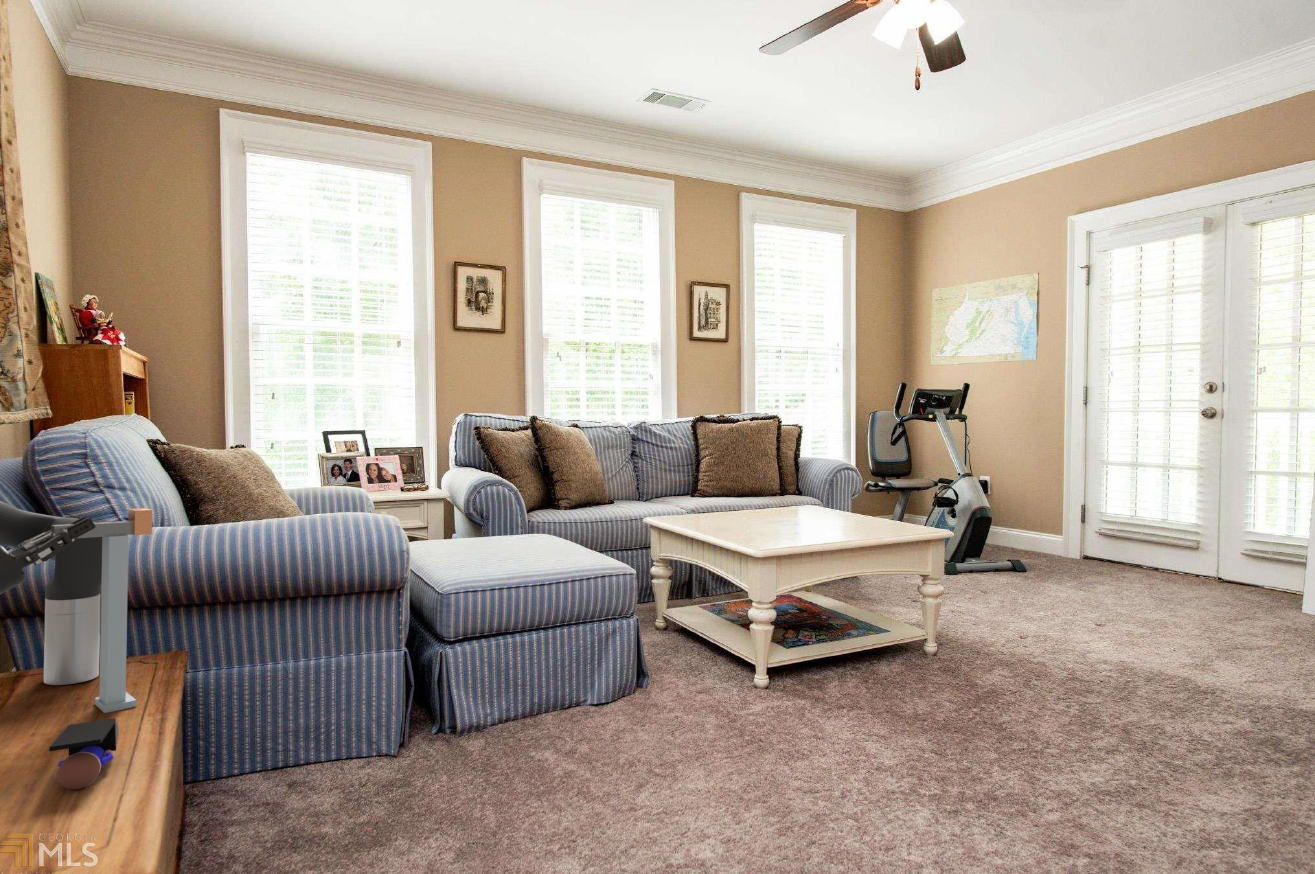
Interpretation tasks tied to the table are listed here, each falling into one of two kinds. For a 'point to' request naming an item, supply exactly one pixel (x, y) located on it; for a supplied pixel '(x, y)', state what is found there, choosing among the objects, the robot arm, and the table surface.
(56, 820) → the table surface
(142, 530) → the grey handled tool
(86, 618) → the robot arm
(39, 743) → the table surface
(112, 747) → the figurine character
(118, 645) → the post
